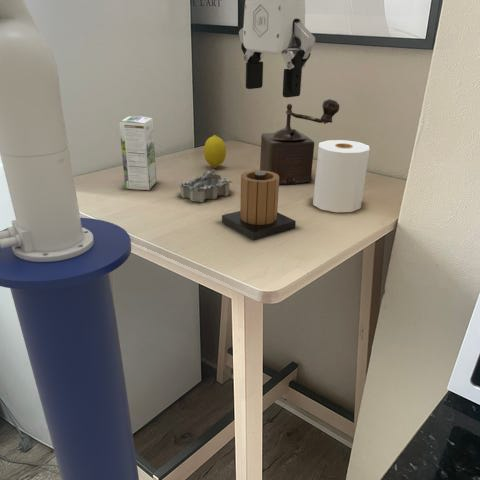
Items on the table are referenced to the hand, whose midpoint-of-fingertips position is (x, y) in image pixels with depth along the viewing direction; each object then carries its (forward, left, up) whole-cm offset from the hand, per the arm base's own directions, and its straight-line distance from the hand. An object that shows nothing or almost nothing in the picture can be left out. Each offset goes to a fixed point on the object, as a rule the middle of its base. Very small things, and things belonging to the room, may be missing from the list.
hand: (271, 92), depth 82 cm
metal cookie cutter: (0, +21, -24) cm, 32 cm away
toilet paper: (+20, +1, -24) cm, 31 cm away
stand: (-1, +1, -23) cm, 23 cm away
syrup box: (-9, +34, -24) cm, 42 cm away
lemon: (+13, +37, -24) cm, 46 cm away
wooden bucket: (-1, +1, -22) cm, 22 cm away
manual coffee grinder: (+25, +20, -24) cm, 40 cm away
